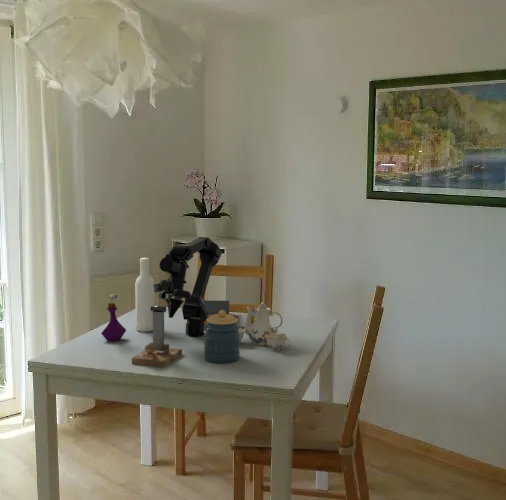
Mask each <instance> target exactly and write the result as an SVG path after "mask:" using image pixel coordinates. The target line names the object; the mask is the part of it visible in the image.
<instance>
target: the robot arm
mask: <svg viewBox="0 0 506 500" xmlns="http://www.w3.org/2000/svg"><path fill="white" fill-rule="evenodd" d="M195 253H198V254H199V260H200V262H201V263H200V266H199V269H198V274H197V276H196V280H195V284H194V286H193V289H192V292H190V291H188V290H184V287H185V284H187V280H186V275H187V269H190V265H189V264H188V261H190V260H191V259H192V258H194V254H195ZM221 256H222V249H221V248H220V247H219V245H218V244H217V243H215V242H214V241H212V239H211V238H210V237H206V236H198V237H196V238H195V239H194V240H192V241H190V242H187V243H184V244H179V243H178V244H174V245H173V247H172V248H171V250H170V251H169V253H166V254H165V256H164V257H163V258H161V260H160V261H159V269H160V270H161V271H162V272H164V273H166V274H169V275H170V276H169V278H167V279H163V280H160V282H158V283H154V284H153V287H154V294H155V293H158V299H160V300H161V299H162V300H164V301H165V303H166V305H167V313H168V318H169V319H173V318H174V316H175V314H176V312H177V311H178V310H179V308H180V307H181V306H182V308H181V312H182V316H183V320H185V321H186V323H185V333H184V334H187V335H188V336H189V337H191V338H193V337H200V336H204V334H205V328H204V321H206V319H207V318H208V314H207V312H206V310H205V309H204V308H205V304H204V301H203V300H204V297H205V294H206V290H207V287H208V284H209V281H210V278H211V277H210V276H211V274H212V270H213V268H214V267H215V266H216V265H217V264H218V263H219V261H220V259H221ZM183 299H184V300H183Z"/></svg>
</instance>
